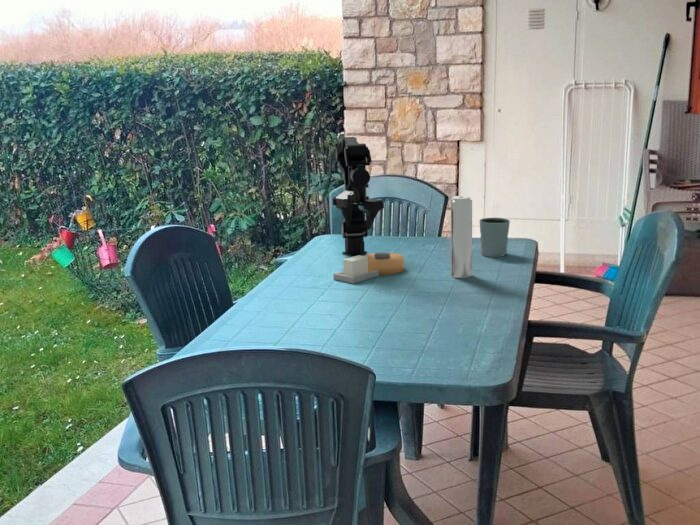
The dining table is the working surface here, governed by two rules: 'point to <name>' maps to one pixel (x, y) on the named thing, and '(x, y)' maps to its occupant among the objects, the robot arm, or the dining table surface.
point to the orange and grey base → (376, 267)
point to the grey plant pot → (494, 236)
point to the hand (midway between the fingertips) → (358, 227)
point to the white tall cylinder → (461, 237)
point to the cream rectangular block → (355, 266)
